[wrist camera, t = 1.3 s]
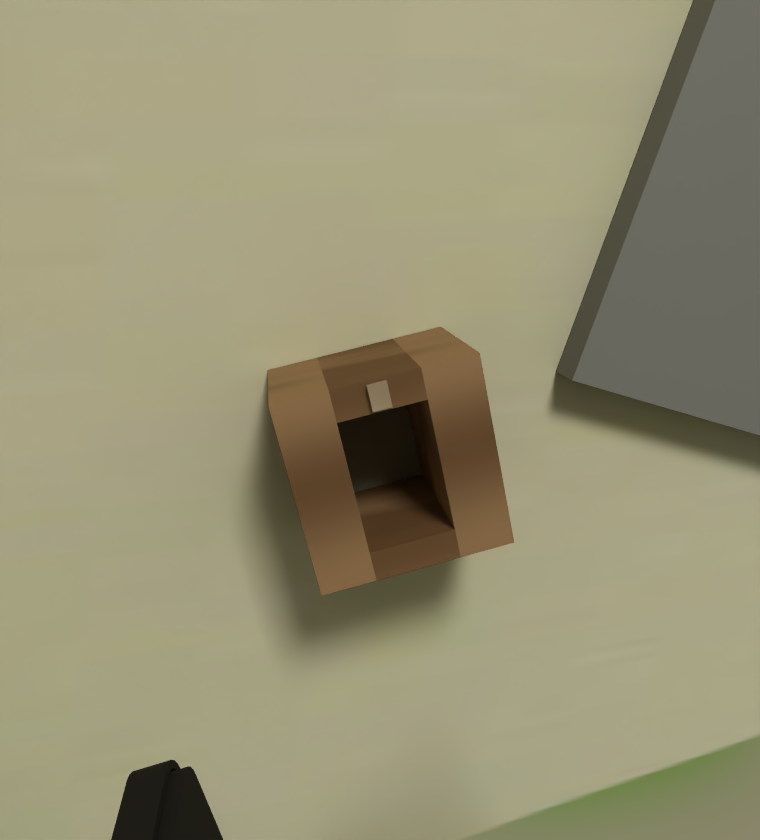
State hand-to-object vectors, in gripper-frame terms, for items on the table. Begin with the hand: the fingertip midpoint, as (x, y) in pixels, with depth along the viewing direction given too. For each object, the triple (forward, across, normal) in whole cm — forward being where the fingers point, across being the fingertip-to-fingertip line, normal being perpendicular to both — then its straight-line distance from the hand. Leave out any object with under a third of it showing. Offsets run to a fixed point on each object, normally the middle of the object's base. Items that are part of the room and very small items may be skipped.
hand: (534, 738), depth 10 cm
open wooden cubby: (+17, 0, +1) cm, 17 cm away
